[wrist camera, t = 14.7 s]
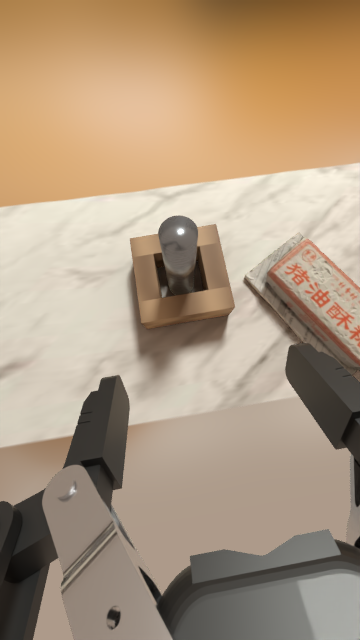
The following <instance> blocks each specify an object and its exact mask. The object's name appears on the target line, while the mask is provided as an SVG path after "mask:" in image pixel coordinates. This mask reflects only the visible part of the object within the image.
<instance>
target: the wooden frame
mask: <svg viewBox="0 0 360 640" xmlns="http://www.w3.org/2000/svg"><path fill="white" fill-rule="evenodd" d="M197 229H198V241H197V252H196V261H198V264H199V269H200V274H201V279H202V284H203V289H204V291H199V292H194V293H188V294H182V295H176V296H170V297H164V298H162V294H161V288H160V282H159V275H158V269H157V268H160V267H165V265H164V260H163V255H162V250H161V246H160V241H159V235H158V234H154V235H148V236H142V237H137V238H131V239H130V244H131V251H132V258H133V266H134V273H135V280H136V288H137V295H138V303H139V310H140V317H141V323H142V324H143V325H144V326H145V327H146V328H147V329H151V328H156V327H162V326H168V325H174V324H180V323H185V322H191V321H197V320H203V319H209V318H215V317H220V316H226V315H229V314H230V313H231V312H232V310H233V309H234V308H235V304H234V300H233V296H232V291H231V287H230V283H229V278H228V274H227V270H226V265H225V261H224V257H223V252H222V248H221V244H220V239H219V235H218V231H217V226H216V224H214V225H208V226H202V227H197Z"/></svg>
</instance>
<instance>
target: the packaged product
mask: <svg viewBox="0 0 360 640" xmlns="http://www.w3.org/2000/svg"><path fill="white" fill-rule="evenodd" d="M244 278H245V279H246V280H247V281H248V282H249V283H250V284H251V286H252V287H253V288H254V289H255V290H256V291H257V292H258V293H259V294H260V295H261V296H262V297H263V298H264V299H265V300H266V301H267V302H268V303H269V304H270V305H271V306H272V308H273V309H274V310H275V311H276V312H277V313H278V314H279V316H280V317H281V318H282V319H283V320H284V321H285V322H286V323H287V324H288V325H289V327H290V328H291V329H292V330H293V332H294V333H295V334H296V335H297V336H298V337H299V338H300V339H301V340H302V341H303V342H304V343H310V344H311V345H312V346H313V347H314V348H315V349H316V350H317V351H318V352H324V353H326V354H328V355H329V356H331V357H333V358H335V359H336V360H337V361H338V362H339V363H340V364H341V365H342V366H343V367H344V369H346V370H347V371H348V372H349V373H350V374H351V375H353V374H354V373H355V372H356V371H357V370H359V371H360V288H359V287H358V286H357V285H356V284H355V283H354V282H353V281H352V280H351V279H350V278H349V277H348V276H347V275H346V274H345V273H344V272H343V271H342V270H341V269H339V268H338V267H337V266H336V265H335V264H334V263H333V262H332V261H331V260H330V259H329V258H328V257H327V256H326V255H325V254H324V253H322V252H321V251H320V250H319V248H318V247H317V246H316V245H315V244H313V242H312V241H310V240H309V239H308V238H305V237H303V236H302V235H301V234H300V233H297V234H296V235H295V236H293V237H292V238H291V239H290V240H288V241H287V242H286V243H285V244H283V245H282V246H281V247H280V248H278V249H277V250H276V251H274V252H273V253H272V254H271V255H269V256H268V257H267V258H266V259H264V260H263V261H262V262H261V263H259V264H258V265H257V266H256V267H255V268H253V269H252V270H251V271H250V272H249V273H247V274H246V275H245V277H244Z"/></svg>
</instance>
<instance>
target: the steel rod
mask: <svg viewBox="0 0 360 640" xmlns="http://www.w3.org/2000/svg"><path fill="white" fill-rule="evenodd" d="M158 235H159V241H160V246H161V250H162V255H163V260H164V265H165V270H166V274H167V279H168V284H169V288H170V290H171V292H172V293H173V294H175V295H182V294H188V293H190V292H191V291H192V289H193V285H194V274H195V263H196V252H197V241H198V229H197V226H196V224H195V223H194V222H193V221H192V220H191V219H189V218H187V217H184V216H173V217H170V218H168V219H166V220H165V221H164V222H163V223H162V224H161V226H160V228H159V232H158Z"/></svg>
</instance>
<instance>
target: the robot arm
mask: <svg viewBox="0 0 360 640" xmlns="http://www.w3.org/2000/svg"><path fill="white" fill-rule="evenodd" d="M285 371H286V376H287V379H288V381H289V383H290V384H291V385H292V387H293V388H294V390H295V391H296V393H297V394H298V396H299V397H300V398H301V400H302V401H303V403H304V404H305V406H306V407H307V408H308V410H309V412H310V413H311V414H312V416H313V417H314V419H315V420H316V422H317V423H318V424H319V426H320V428H321V429H322V430H323V432H324V433H325V435H326V436H327V438H328V439H329V441H330V442H331V443H332V445H333V446H334V448H335V449H341V448H348V450H349V451H350V452H351V456H350V494H351V510H350V516H349V520H348V525H347V534H346V535H347V536H346V543H345V542H342V541H339V540H335V539H333V537H332V535H331V533H330V531H329V530H328V529H327V530H322V531H317V532H312V533H307V534H302V535H296V536H294V537H292V538H291V539H289V540H288V541H286V542H285V543H283V544H282V545H280V546H279V547H277V548H276V549H274V550H273V551H271V552H270V553H268V554H266V555H264V556H259V555H253V554H247V553H242V552H236V551H230V550H219V551H214V552H209V553H204V554H198V555H193V556H190V562H191V565H190V566H188V567H187V568H186V569H184V570H183V571H182V572H181V573H179V574H178V575H177V576H176V577H175V579H174V580H173V581H172V582H171V583H170V585H169V586H168V588H167V589H166V591H165V592H164V593H163V594H162V592H161V591H160V589H159V587H158V585H157V583H156V582H155V580H154V578H153V576H152V574H151V573H150V571H149V569H148V567H147V566H146V564H145V562H144V561H143V559H142V558H141V556H140V555H139V553H138V551H137V549H136V548H135V546H134V544H133V542H132V540H131V539H130V537H129V535H128V533H127V531H126V530H125V528H124V526H123V524H122V522H121V521H120V519H119V517H118V515H117V513H116V512H115V510H114V508H113V506H112V505H111V500H112V492H113V490H115V489H120V488H122V481H123V480H122V479H123V470H124V459H125V450H126V440H127V430H128V420H129V409H130V407H129V398H128V395H127V393H126V390H125V387H124V385H123V382H122V380H121V377H120V376H119V375H117V376H111V377H105V378H102V379H101V382H100V385H99V389H98V391H93V392H91V393H90V395H89V396H88V397H87V399H86V400H85V401H84V404H83V407H82V410H81V413H80V414H81V416H79V420H78V425H77V426H76V429H75V433H74V436H73V439H72V442H71V446H70V449H69V452H68V455H67V458H66V462H65V464H64V467H63V469H62V470H61V471H59V472H58V473H57V474H56V475H55V476H54V477H53V478H52V479H51V481H50V482H49V484H48V486H47V487H46V488H45V489H44V490H42V491H41V492H39V493H37V494H35V495H33V496H31V497H30V498H28V499H26V500H24V501H22V502H20V503H18V504H16V505H14V506H12V505H11V504H9V503H8V502H5V501H1V502H0V640H33V636H34V632H35V627H36V623H37V618H38V614H39V610H40V605H41V601H42V596H43V591H44V588H45V583H46V579H47V574H48V570H49V565H50V563H51V562H52V561H54V560H55V559H57V558H59V561H60V564H61V567H62V570H63V576H64V579H63V581H62V583H61V593H62V599H63V603H64V607H65V610H66V613H67V617H68V620H69V624H70V627H71V630H72V634H73V638H74V640H360V382H359V381H358V380H357V379H356V378H355V377H352V375H351V374H350V373H349V372H348V371H347V370H346V369H344V367H343V366H342V365H341V364H340V363H339V362H338V361H337V360H336V359H335V358H333V357H331V356H329V355H328V354H326V353H324V352H318V351H317V350H316V349H315V348H314V347H313V346H312V345H311V344H310V343H302V344H296V345H291V346H290V347H289V350H288V356H287V362H286V369H285Z"/></svg>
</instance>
